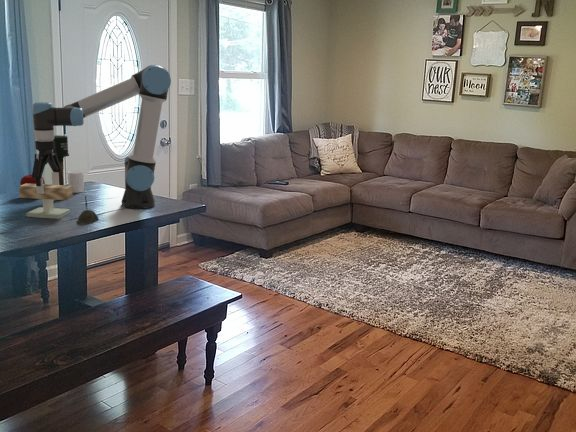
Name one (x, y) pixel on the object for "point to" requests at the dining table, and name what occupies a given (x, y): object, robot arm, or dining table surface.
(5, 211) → the dining table surface
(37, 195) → the beam
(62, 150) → the stick grenade
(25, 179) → the apple
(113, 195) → the dining table surface
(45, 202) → the fulcrum
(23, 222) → the dining table surface
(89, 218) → the sword in stone
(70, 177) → the white cup
